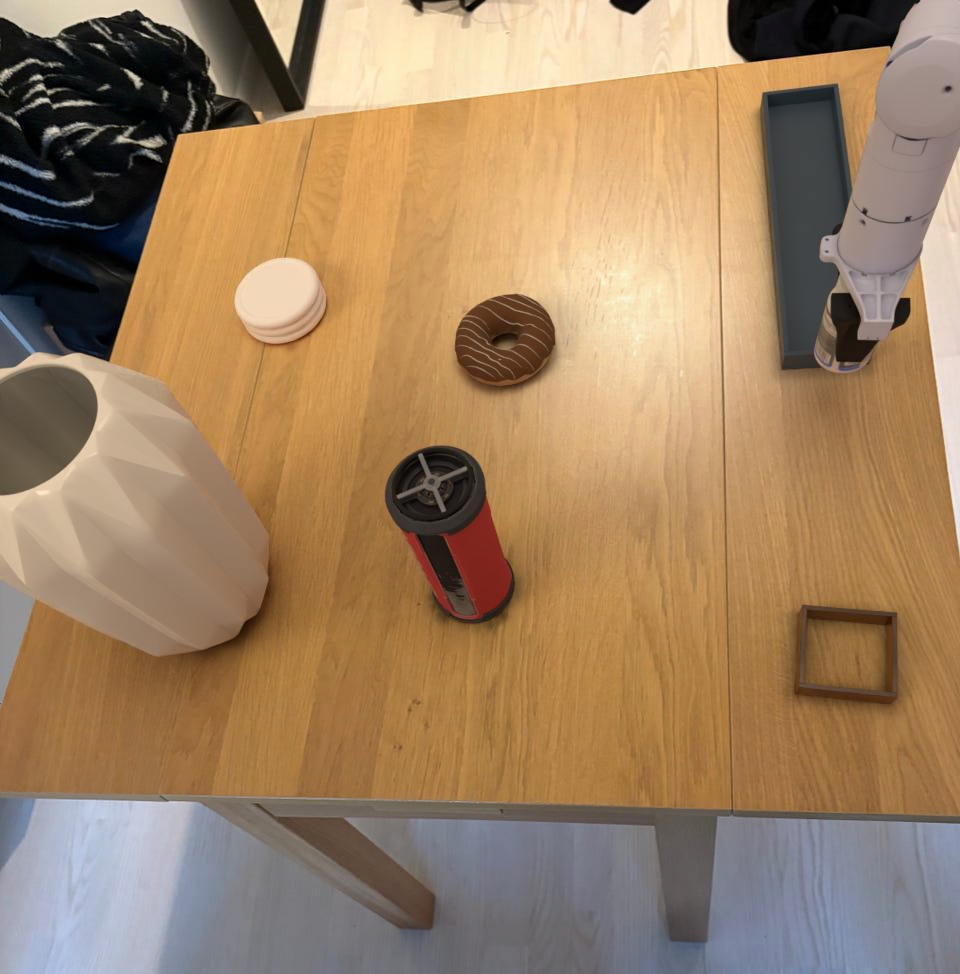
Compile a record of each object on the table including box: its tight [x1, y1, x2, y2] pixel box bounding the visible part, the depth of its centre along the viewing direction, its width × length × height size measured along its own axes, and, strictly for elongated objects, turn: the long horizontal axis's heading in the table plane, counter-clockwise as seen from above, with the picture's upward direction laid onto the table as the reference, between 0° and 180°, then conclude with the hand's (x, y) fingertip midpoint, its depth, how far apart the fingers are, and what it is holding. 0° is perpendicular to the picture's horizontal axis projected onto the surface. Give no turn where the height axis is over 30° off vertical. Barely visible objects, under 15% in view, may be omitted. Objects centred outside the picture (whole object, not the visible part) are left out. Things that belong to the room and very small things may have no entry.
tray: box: [759, 82, 875, 370], centre depth 85 cm, size 37×8×2 cm, turn 176°
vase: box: [0, 351, 270, 658], centre depth 69 cm, size 20×20×27 cm
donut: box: [454, 293, 557, 387], centre depth 85 cm, size 11×11×4 cm
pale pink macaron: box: [233, 257, 327, 345], centre depth 93 cm, size 10×10×4 cm
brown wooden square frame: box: [794, 604, 899, 705], centre depth 68 cm, size 7×7×2 cm
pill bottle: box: [814, 274, 876, 374], centre depth 68 cm, size 5×5×8 cm
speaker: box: [384, 444, 516, 623], centre depth 69 cm, size 8×8×18 cm
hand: (849, 333), depth 69 cm, fingers closed on pill bottle, 5 cm apart
